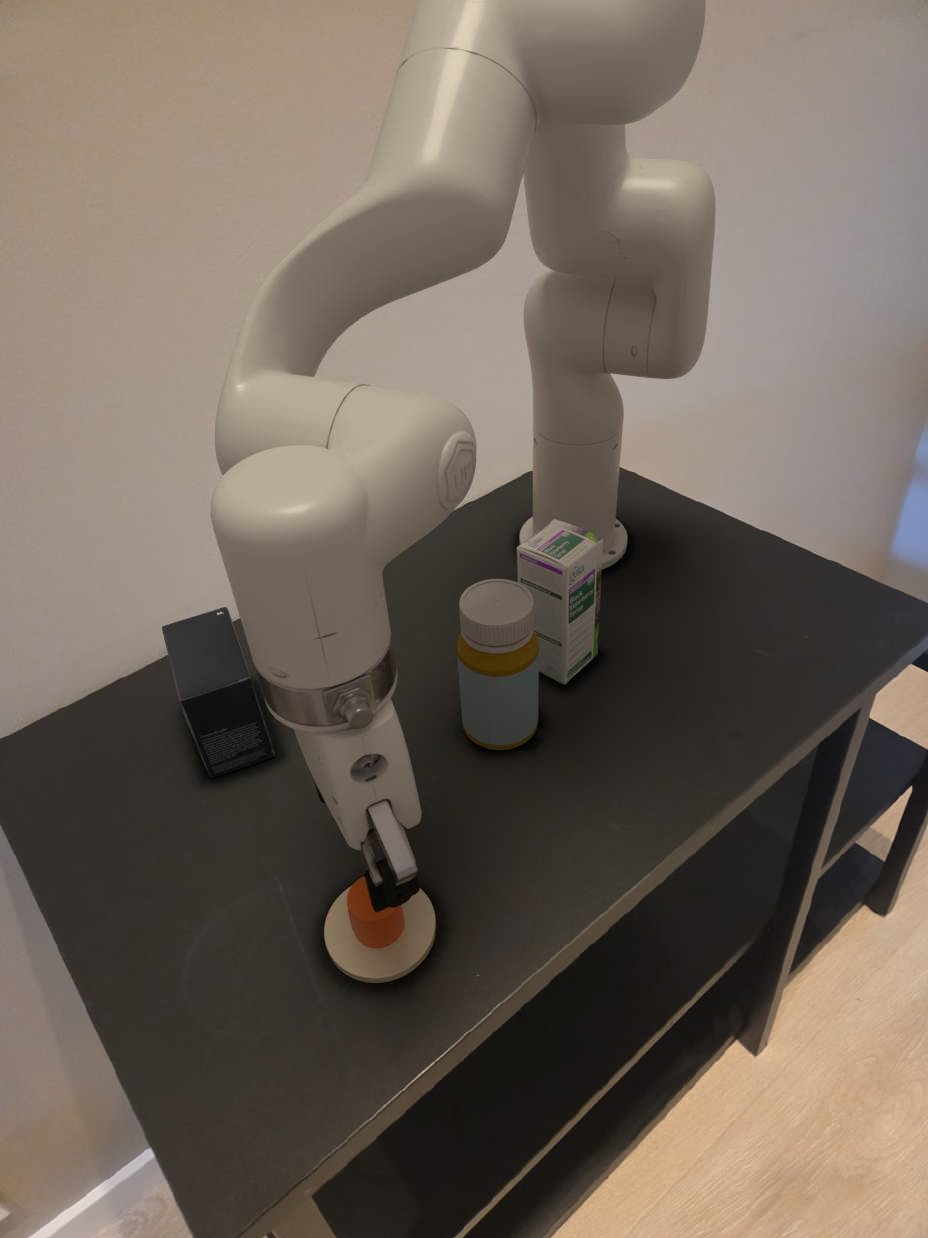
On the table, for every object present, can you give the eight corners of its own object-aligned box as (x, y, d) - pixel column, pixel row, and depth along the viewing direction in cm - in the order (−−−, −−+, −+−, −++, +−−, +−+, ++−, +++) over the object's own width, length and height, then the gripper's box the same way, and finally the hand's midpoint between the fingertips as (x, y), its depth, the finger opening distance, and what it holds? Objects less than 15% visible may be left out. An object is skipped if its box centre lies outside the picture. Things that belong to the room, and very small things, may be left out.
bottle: (532, 759, 78) (532, 633, 68) (455, 749, 79) (445, 624, 69) (542, 703, 83) (544, 579, 73) (470, 695, 84) (463, 572, 74)
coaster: (346, 873, 70) (344, 867, 69) (447, 890, 68) (447, 885, 67) (309, 971, 63) (307, 966, 63) (420, 993, 62) (419, 988, 61)
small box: (187, 704, 85) (157, 623, 78) (252, 684, 87) (228, 603, 80) (206, 781, 77) (175, 699, 71) (278, 757, 79) (254, 675, 72)
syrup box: (565, 687, 84) (569, 567, 75) (517, 661, 87) (515, 543, 78) (598, 655, 88) (606, 537, 78) (551, 632, 91) (553, 515, 81)
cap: (358, 955, 63) (352, 928, 61) (347, 910, 66) (340, 883, 64) (410, 939, 64) (405, 911, 62) (397, 895, 67) (392, 867, 65)
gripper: (458, 742, 43) (474, 920, 55) (334, 560, 55) (368, 738, 66) (317, 804, 41) (364, 976, 52) (219, 600, 53) (275, 777, 64)
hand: (367, 843), depth 59 cm, fingers open, 9 cm apart
